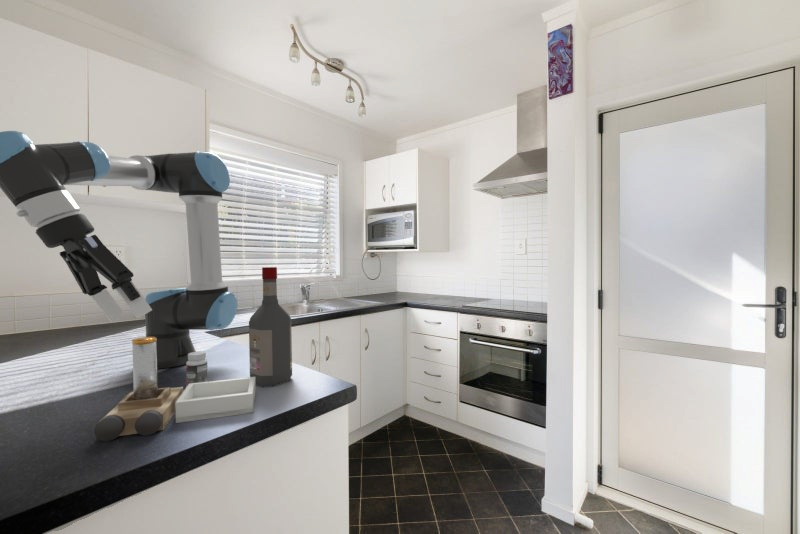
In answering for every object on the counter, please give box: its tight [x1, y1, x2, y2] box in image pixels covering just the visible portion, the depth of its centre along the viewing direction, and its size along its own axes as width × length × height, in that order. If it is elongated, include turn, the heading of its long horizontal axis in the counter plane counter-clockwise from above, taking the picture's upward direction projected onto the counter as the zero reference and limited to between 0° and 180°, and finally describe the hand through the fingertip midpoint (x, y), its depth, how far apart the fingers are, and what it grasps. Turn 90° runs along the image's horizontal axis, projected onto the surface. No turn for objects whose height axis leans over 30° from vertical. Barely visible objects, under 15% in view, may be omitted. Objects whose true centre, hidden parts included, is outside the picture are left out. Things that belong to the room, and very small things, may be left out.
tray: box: [175, 376, 257, 424], centre depth 79 cm, size 12×14×4 cm
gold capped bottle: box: [131, 336, 159, 400], centre depth 74 cm, size 4×4×13 cm
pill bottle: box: [185, 350, 209, 387], centre depth 93 cm, size 5×5×8 cm
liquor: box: [248, 266, 293, 388], centre depth 96 cm, size 9×9×30 cm
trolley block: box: [93, 386, 184, 442], centre depth 74 cm, size 18×10×4 cm, turn 19°
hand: (131, 316), depth 73 cm, fingers open, 13 cm apart
